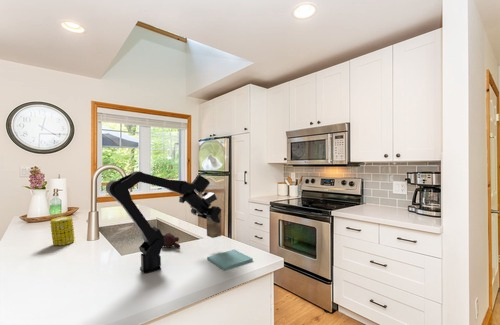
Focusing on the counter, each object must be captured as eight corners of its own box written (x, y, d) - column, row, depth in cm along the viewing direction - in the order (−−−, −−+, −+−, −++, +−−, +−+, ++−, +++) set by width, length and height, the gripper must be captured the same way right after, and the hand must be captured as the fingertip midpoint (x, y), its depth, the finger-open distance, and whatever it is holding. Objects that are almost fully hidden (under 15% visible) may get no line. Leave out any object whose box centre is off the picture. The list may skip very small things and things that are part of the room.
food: (78, 243, 140) (61, 251, 130) (60, 238, 141) (42, 245, 131) (81, 217, 138) (65, 222, 128) (63, 211, 140) (45, 217, 130)
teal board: (224, 270, 98) (224, 267, 98) (207, 259, 110) (207, 257, 110) (252, 260, 107) (252, 258, 107) (234, 251, 118) (234, 249, 118)
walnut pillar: (212, 238, 117) (212, 211, 117) (206, 235, 121) (206, 209, 121) (221, 235, 120) (221, 209, 120) (215, 233, 124) (215, 208, 124)
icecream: (150, 234, 126) (172, 241, 120) (161, 227, 133) (183, 233, 126) (152, 246, 128) (174, 253, 122) (163, 239, 135) (185, 245, 128)
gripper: (217, 188, 111) (237, 210, 118) (196, 186, 125) (215, 205, 132) (201, 209, 106) (224, 230, 113) (181, 204, 120) (202, 223, 127)
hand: (216, 221), depth 121 cm, fingers closed on walnut pillar, 5 cm apart
